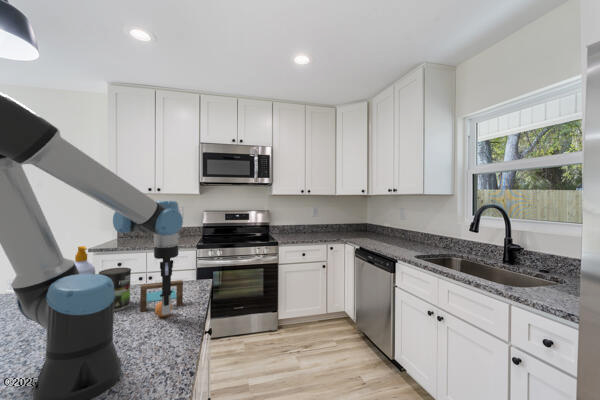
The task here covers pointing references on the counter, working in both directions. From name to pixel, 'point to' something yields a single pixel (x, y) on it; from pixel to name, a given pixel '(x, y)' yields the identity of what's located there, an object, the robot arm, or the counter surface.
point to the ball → (160, 309)
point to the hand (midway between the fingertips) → (166, 313)
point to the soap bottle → (83, 262)
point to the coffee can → (119, 286)
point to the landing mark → (158, 296)
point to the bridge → (159, 285)
